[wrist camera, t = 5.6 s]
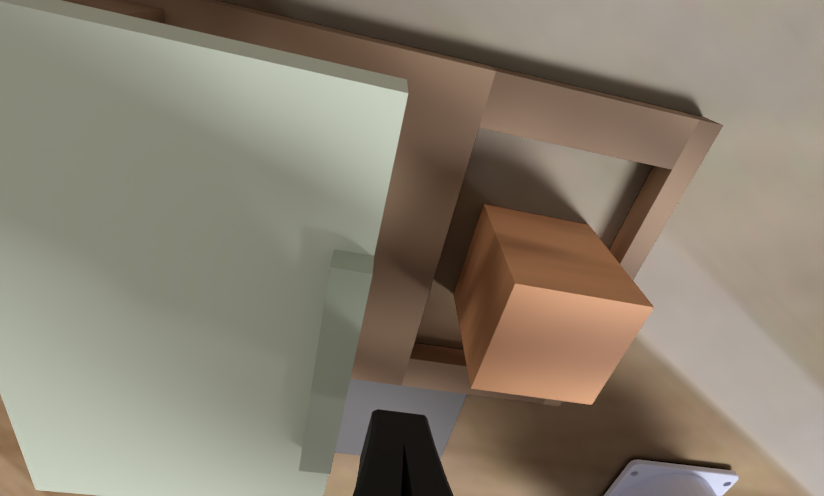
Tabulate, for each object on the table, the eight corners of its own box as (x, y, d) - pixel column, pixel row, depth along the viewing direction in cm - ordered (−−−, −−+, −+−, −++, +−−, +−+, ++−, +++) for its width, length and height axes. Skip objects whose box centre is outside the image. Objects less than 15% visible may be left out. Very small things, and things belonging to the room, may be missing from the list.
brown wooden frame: (553, 389, 26) (594, 496, 20) (121, 330, 22) (35, 438, 17) (704, 117, 18) (836, 175, 12) (67, -36, 14) (-126, -47, 9)
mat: (437, 458, 29) (438, 463, 28) (297, 442, 27) (296, 448, 27) (478, 359, 24) (479, 364, 24) (312, 335, 23) (311, 340, 23)
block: (547, 308, 23) (591, 404, 17) (453, 293, 22) (470, 388, 17) (588, 224, 20) (653, 307, 15) (483, 203, 19) (515, 283, 14)
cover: (325, 477, 18) (316, 537, 16) (63, 451, 17) (19, 513, 15) (406, 79, 10) (409, 102, 8) (-77, -32, 9) (-212, -36, 7)
